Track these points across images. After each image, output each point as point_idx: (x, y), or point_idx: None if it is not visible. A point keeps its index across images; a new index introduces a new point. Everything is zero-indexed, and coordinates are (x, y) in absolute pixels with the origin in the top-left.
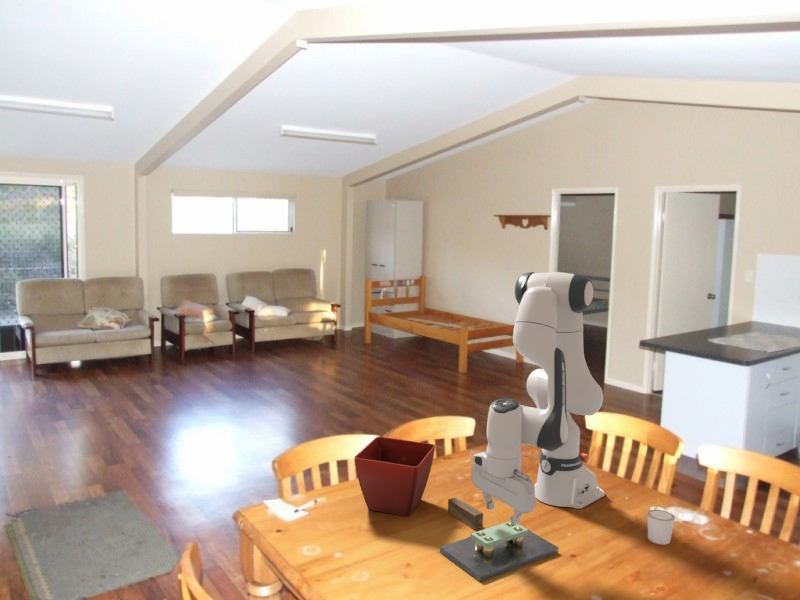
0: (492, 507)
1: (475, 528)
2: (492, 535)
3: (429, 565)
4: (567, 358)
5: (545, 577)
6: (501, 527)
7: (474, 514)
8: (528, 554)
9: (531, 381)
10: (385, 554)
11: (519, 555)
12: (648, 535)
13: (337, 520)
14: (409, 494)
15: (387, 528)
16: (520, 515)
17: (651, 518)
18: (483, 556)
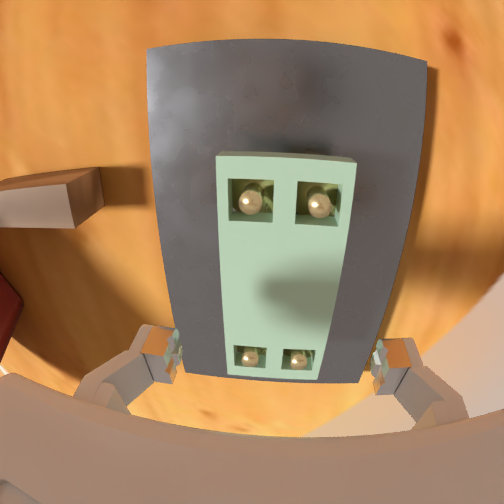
0: (175, 342)
1: (102, 201)
2: (286, 337)
3: (230, 398)
4: None
5: (470, 233)
6: (250, 261)
7: (67, 222)
8: (392, 205)
9: None
10: (157, 412)
11: (374, 238)
12: None
13: (39, 381)
14: (2, 357)
15: (65, 358)
16: (434, 379)
17: None
18: None
